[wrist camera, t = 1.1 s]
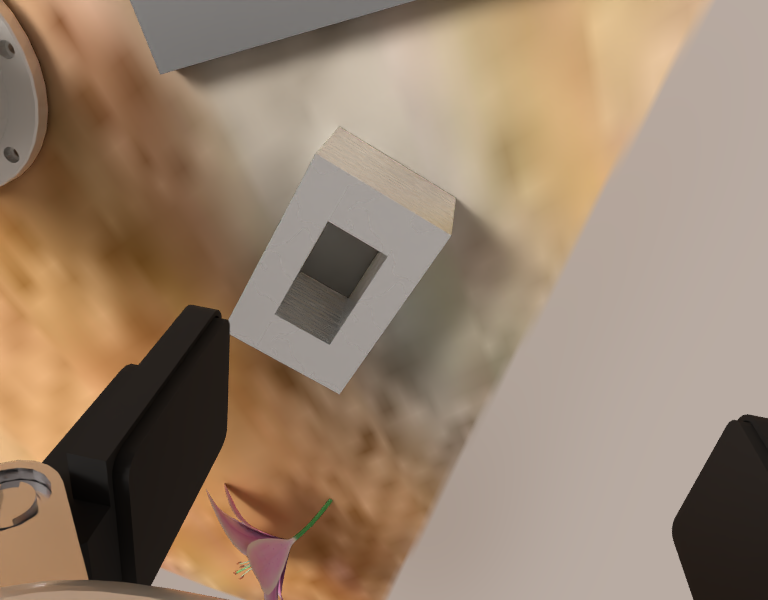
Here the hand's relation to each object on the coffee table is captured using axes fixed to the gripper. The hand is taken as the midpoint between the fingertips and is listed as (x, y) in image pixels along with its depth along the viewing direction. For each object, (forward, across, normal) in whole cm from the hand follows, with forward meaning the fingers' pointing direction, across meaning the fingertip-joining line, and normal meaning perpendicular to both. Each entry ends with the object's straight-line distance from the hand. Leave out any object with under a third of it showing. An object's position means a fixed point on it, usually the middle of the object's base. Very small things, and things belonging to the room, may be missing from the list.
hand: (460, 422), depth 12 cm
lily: (+22, +8, +29) cm, 38 cm away
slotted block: (+22, +5, +7) cm, 24 cm away
